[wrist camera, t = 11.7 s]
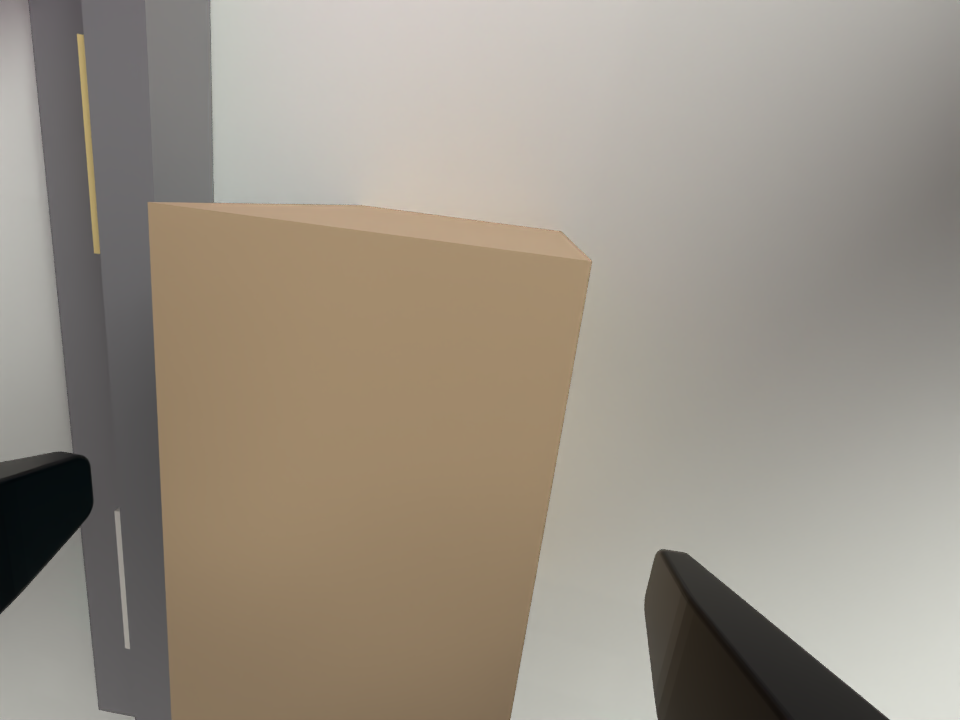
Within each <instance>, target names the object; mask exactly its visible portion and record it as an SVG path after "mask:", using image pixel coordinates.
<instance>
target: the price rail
mask: <svg viewBox="0 0 960 720" xmlns="http://www.w3.org/2000/svg"><path fill="white" fill-rule="evenodd" d="M28 1H29V11H30V21H31V31H32V41H33V51H34V61H35V71H36V81H37V92H38V102H39V112H40V122H41V132H42V142H43V152H44V162H45V172H46V182H47V192H48V202H49V213H50V223H51V233H52V243H53V253H54V263H55V273H56V283H57V293H58V303H59V313H60V324H61V334H62V344H63V354H64V364H65V374H66V384H67V394H68V404H69V414H70V424H71V435H72V445H73V454H79V455H83V456H85V457H86V458H87V459H88V460H89V462H90V465H91V474H92V486H93V497H94V504H93V508H92V511H91V513H90V515H89V517H88V518H87V519H86V520H85V521H84V523H83V524H82V525H81V535H82V545H83V556H84V566H85V576H86V586H87V596H88V606H89V616H90V626H91V636H92V646H93V656H94V667H95V677H96V687H97V697H98V707H99V710H102V711H108V712H113V713H118V714H123V715H128V716H134V717H135V720H172V719H171V698H170V676H169V654H168V633H167V611H166V589H165V568H164V546H163V524H162V503H161V481H160V459H159V438H158V416H157V394H156V373H155V351H154V329H153V307H152V286H151V264H150V242H149V221H148V202H180V203H213V148H212V91H211V35H210V0H28Z"/></svg>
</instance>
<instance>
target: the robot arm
mask: <svg viewBox="0 0 960 720" xmlns="http://www.w3.org/2000/svg"><path fill="white" fill-rule="evenodd" d="M93 504H94V497H93V486H92V474H91V465H90V462H89V460H88V459H87V458H86V457H85V456H83V455H79V454H73V453H67V452H53V453H48V454H42V455H37V456H32V457H26V458H21V459H16V460H11V461H5V462H0V614H1V613H2V612H3V611H4V610H5V609H6V608H7V607H8V606H9V605H10V604H11V603H12V602H13V601H14V600H15V599H16V598H17V597H18V596H19V595H20V594H21V592H22V591H23V590H24V589H25V588H26V587H27V586H28V585H29V584H30V583H31V581H32V580H33V579H34V578H35V577H36V576H37V575H38V574H39V572H40V571H41V570H42V569H43V568H44V567H45V566H46V564H47V563H48V562H49V561H50V560H51V559H52V558H53V557H54V555H55V554H56V553H57V552H58V551H59V550H60V549H61V547H62V546H63V545H64V544H65V543H66V542H67V541H68V540H69V538H70V537H71V536H72V535H73V534H74V533H75V532H76V530H77V529H78V528H79V527H80V526H81V525H82V524H83V523H84V521H85V520H86V519H87V518H88V517H89V515H90V513H91V511H92V508H93ZM644 610H645V620H646V628H647V637H648V646H649V654H650V663H651V671H652V680H653V689H654V697H655V704H656V712H657V717H658V720H890V719H888V718H887V717H886V716H885V715H883V714H882V713H881V712H880V711H879V710H877V709H876V708H875V707H874V706H873V705H871V704H870V703H869V702H868V701H866V700H865V699H864V698H863V697H862V696H860V695H859V694H858V693H857V692H855V691H854V690H853V689H852V688H851V687H849V686H848V685H847V684H846V683H844V682H843V681H842V680H841V679H840V678H838V677H837V676H836V675H835V674H834V673H832V672H831V671H830V670H829V669H827V668H826V667H825V666H824V665H823V664H821V663H820V662H819V661H818V660H816V659H815V658H814V657H813V656H812V655H810V654H809V653H808V652H807V651H805V650H804V649H803V648H802V647H801V646H799V645H798V644H797V643H796V642H794V641H793V640H792V639H791V638H790V637H788V636H787V635H786V634H785V633H784V632H782V631H781V630H780V629H779V628H777V627H776V626H775V625H774V624H773V623H771V622H770V621H769V620H768V619H766V618H765V617H764V616H763V615H762V614H760V613H759V612H758V611H757V610H755V609H754V608H753V607H752V606H751V605H749V604H748V603H747V602H746V601H744V600H743V599H742V598H741V597H740V596H738V595H737V594H736V593H735V592H734V591H732V590H731V589H730V588H729V587H727V586H726V585H725V584H724V583H723V582H721V581H720V580H719V579H718V578H716V577H715V576H714V575H713V574H712V573H710V572H709V571H708V570H707V569H705V568H704V567H703V566H702V565H701V564H699V563H698V562H697V561H696V560H695V559H693V558H692V557H691V556H690V555H688V554H687V553H684V552H678V551H672V550H666V549H661V550H659V551H658V552H657V553H656V555H655V558H654V562H653V566H652V570H651V574H650V578H649V582H648V586H647V590H646V595H645V604H644Z"/></svg>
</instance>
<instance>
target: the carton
mask: <svg viewBox="0 0 960 720" xmlns="http://www.w3.org/2000/svg"><path fill="white" fill-rule="evenodd" d="M148 221H149V242H150V264H151V286H152V307H153V329H154V351H155V373H156V394H157V416H158V438H159V459H160V481H161V503H162V524H163V546H164V568H165V589H166V611H167V633H168V654H169V676H170V698H171V719H172V720H510V718H511V712H512V706H513V701H514V695H515V690H516V684H517V678H518V673H519V667H520V662H521V656H522V650H523V645H524V639H525V634H526V628H527V622H528V617H529V611H530V606H531V600H532V594H533V589H534V583H535V578H536V572H537V567H538V561H539V555H540V550H541V544H542V539H543V533H544V527H545V522H546V516H547V511H548V505H549V499H550V494H551V488H552V483H553V477H554V471H555V466H556V460H557V455H558V449H559V443H560V438H561V432H562V427H563V421H564V415H565V410H566V404H567V399H568V393H569V387H570V382H571V376H572V371H573V365H574V360H575V354H576V348H577V343H578V337H579V332H580V326H581V320H582V315H583V309H584V304H585V298H586V292H587V287H588V281H589V276H590V270H591V264H592V261H591V260H590V259H589V258H588V257H587V256H586V255H585V254H584V253H583V252H582V251H581V250H580V249H579V248H578V247H577V246H576V245H575V244H574V243H573V242H572V241H570V240H569V239H568V238H567V237H566V236H565V235H564V234H563V233H562V232H561V231H554V230H546V229H538V228H531V227H523V226H515V225H508V224H500V223H492V222H485V221H477V220H470V219H462V218H454V217H447V216H439V215H431V214H424V213H416V212H408V211H401V210H393V209H385V208H378V207H370V206H362V205H313V204H247V203H180V202H148Z"/></svg>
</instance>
